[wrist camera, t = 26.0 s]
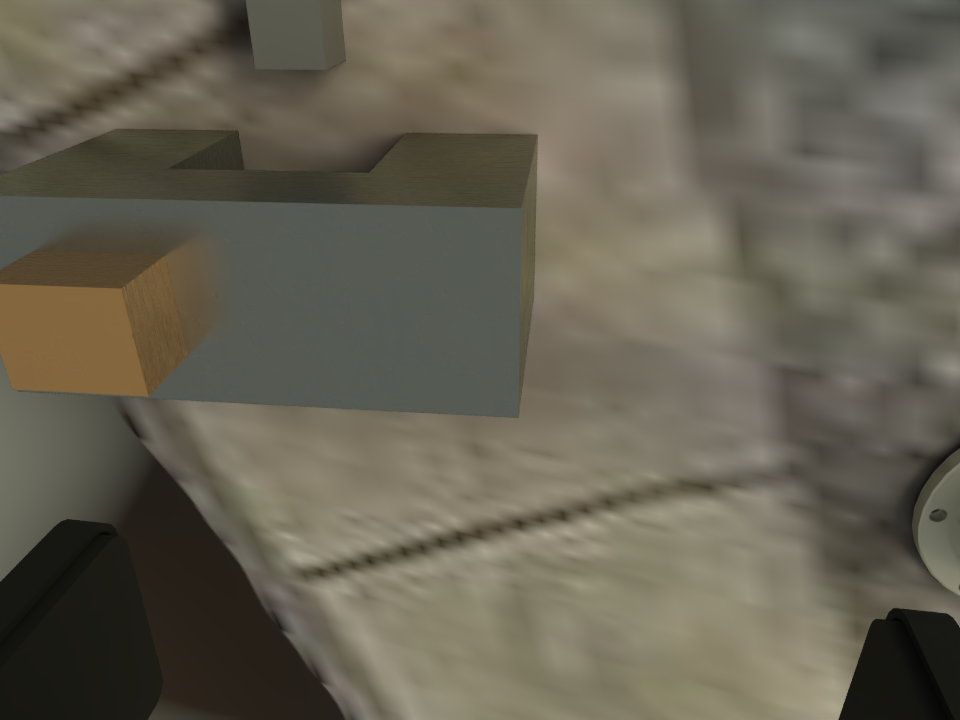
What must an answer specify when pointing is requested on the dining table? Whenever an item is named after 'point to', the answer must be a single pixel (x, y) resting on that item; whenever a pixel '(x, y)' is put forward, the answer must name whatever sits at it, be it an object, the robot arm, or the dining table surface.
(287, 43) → the plug
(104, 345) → the grey boxy piece
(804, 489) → the dining table surface
